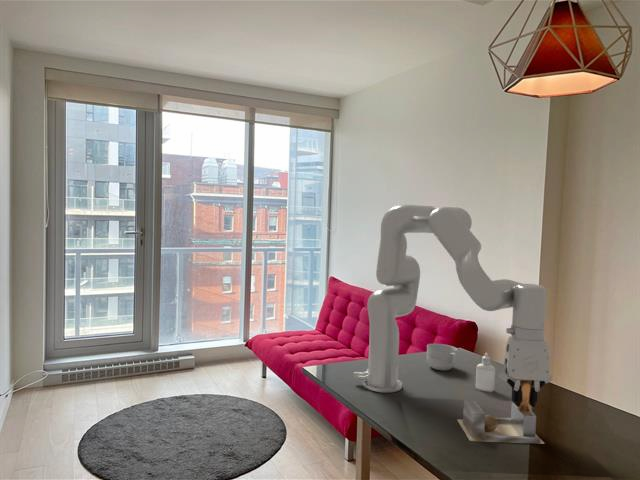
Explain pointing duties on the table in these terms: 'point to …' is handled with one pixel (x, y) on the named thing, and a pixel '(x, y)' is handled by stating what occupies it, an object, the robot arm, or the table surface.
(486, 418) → the walnut
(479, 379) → the eye dropper bottle
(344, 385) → the table surface
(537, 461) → the table surface
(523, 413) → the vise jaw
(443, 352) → the teacup
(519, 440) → the board
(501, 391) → the table surface
